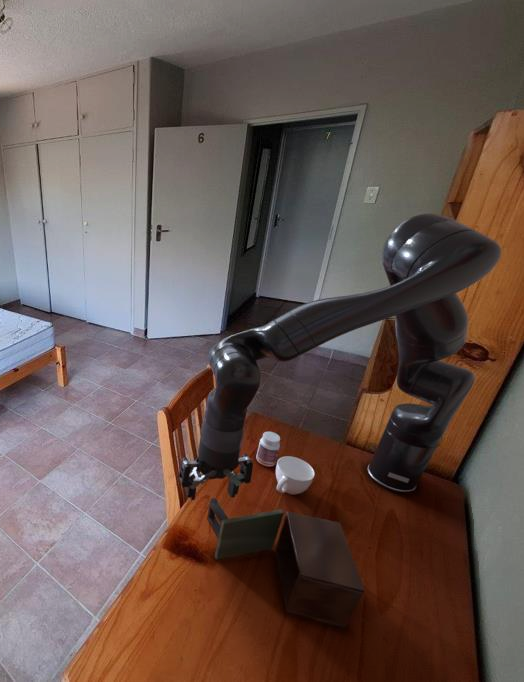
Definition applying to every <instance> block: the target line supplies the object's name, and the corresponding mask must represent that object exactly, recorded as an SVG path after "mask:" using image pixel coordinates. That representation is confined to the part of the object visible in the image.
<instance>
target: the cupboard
mask: <svg viewBox="0 0 524 682" xmlns="http://www.w3.org/2000/svg"><path fill="white" fill-rule="evenodd" d="M280 527H281V528H280V530H279V533H278V537H277V540H276V542H275V546H274V552H275V557H276V562H277V568H278V574H279V580H280V585H281V590H282V596H283V601H284V607H285V613H288V614H291V615H294V616H298V617H302V618H305V619H309V620H312V621H314V622H317V623H322V624H325V625H329V626H332V627H336V628H340V629H343V630H345V629H346V627H347V625H348V623H349V622H350V619H351V618H352V616H353V614H354V612H355V611H356V609H357V607H358V605H359V603H360V601H361V599H362V597H363V596H364V594H365V592H366V589H365V587H364V583H363V581H362V578H361V576H360V573H359V569H358V568H357V564H356V561H355V559H354V557H353V553H352V551H351V548H350V546H349V543H348V539H347V538H346V534H345V532H344V529H343V527H342V524H341V522H338V521H334V520H329V519H324V518H320V517H315V516H311V515H307V514H300V513H297V512H291V511H286V513H285V515H284V518H283V521H282V525H281V526H280Z"/></svg>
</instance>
